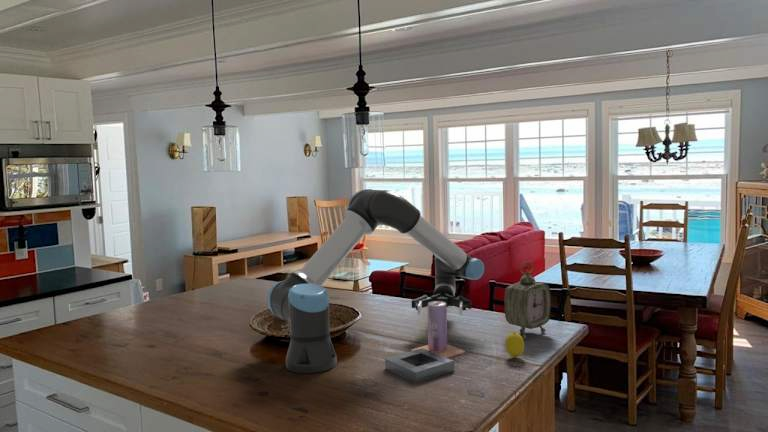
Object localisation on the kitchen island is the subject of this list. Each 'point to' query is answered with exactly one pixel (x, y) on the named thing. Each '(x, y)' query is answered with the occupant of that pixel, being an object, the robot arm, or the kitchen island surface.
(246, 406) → the kitchen island surface
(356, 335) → the kitchen island surface
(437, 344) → the beverage can
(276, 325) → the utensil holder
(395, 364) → the socket block
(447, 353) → the terracotta tile
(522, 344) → the lemon
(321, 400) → the kitchen island surface
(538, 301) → the tabletop clock
